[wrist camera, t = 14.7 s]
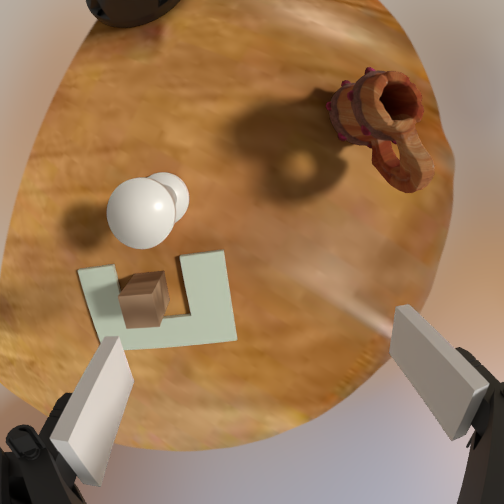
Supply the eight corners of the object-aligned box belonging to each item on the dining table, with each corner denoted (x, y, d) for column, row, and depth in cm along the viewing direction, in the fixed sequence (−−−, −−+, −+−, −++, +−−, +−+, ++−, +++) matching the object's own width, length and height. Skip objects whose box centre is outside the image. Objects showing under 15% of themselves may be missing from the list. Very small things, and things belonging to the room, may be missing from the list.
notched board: (79, 268, 43) (77, 270, 42) (223, 249, 44) (223, 251, 43) (105, 348, 47) (103, 350, 46) (237, 337, 48) (237, 340, 47)
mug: (311, 93, 38) (351, 63, 24) (361, 78, 38) (417, 50, 24) (349, 192, 43) (403, 210, 28) (396, 173, 42) (461, 184, 28)
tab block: (134, 273, 44) (117, 296, 36) (164, 270, 44) (152, 293, 36) (140, 302, 45) (126, 328, 37) (169, 299, 45) (159, 326, 38)
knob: (134, 177, 40) (101, 185, 28) (185, 168, 40) (168, 172, 29) (143, 227, 42) (114, 253, 30) (192, 220, 42) (179, 244, 31)
